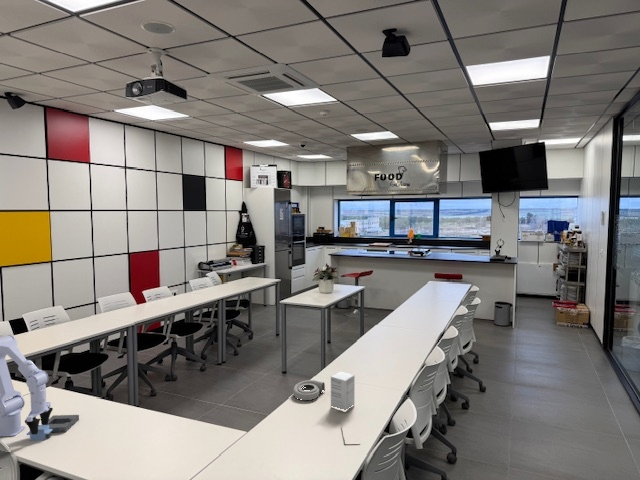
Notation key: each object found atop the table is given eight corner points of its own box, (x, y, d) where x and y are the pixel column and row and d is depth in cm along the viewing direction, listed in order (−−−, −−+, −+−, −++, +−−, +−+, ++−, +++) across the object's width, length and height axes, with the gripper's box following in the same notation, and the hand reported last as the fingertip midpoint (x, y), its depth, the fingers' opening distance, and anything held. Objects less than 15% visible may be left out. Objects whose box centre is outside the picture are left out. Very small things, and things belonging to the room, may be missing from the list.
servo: (26, 440, 184) (26, 430, 183) (32, 436, 188) (31, 425, 187) (47, 440, 184) (47, 429, 184) (53, 435, 188) (52, 424, 188)
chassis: (38, 433, 190) (38, 428, 190) (53, 420, 202) (53, 415, 201) (65, 432, 190) (65, 427, 190) (79, 419, 202) (78, 414, 202)
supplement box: (340, 401, 223) (340, 370, 222) (354, 406, 218) (355, 374, 217) (330, 408, 215) (330, 376, 214) (345, 413, 210) (345, 380, 209)
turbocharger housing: (287, 399, 228) (310, 406, 220) (287, 388, 228) (309, 394, 219) (305, 386, 242) (327, 392, 234) (305, 376, 242) (326, 381, 234)
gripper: (38, 406, 178) (39, 437, 179) (57, 392, 192) (58, 421, 193) (20, 407, 177) (22, 438, 178) (41, 393, 192) (42, 421, 193)
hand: (39, 429), depth 186 cm, fingers open, 7 cm apart
